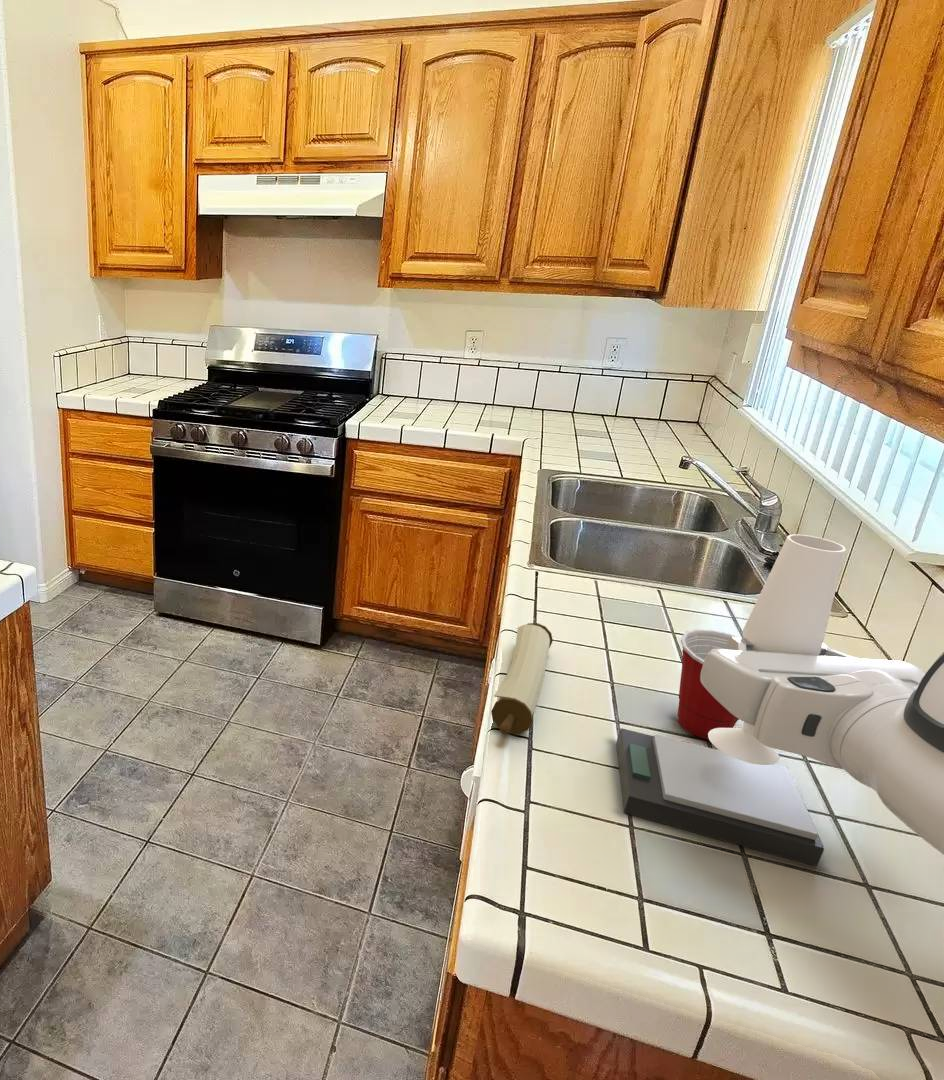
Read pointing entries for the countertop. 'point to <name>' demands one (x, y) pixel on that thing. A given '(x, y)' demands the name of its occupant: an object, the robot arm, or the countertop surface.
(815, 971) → the countertop surface
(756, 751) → the champagne flute
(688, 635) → the plastic cup
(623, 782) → the kitchen scale
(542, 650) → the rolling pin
